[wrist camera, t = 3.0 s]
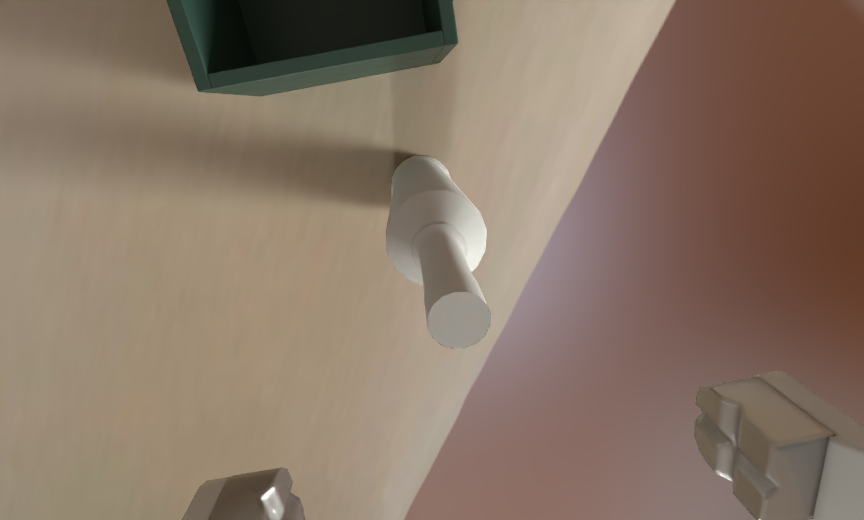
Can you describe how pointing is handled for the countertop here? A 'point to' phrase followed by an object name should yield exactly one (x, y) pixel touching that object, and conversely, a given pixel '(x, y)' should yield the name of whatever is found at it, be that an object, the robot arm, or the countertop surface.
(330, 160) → the countertop surface
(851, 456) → the robot arm
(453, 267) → the bottle
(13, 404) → the countertop surface
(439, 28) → the bin
